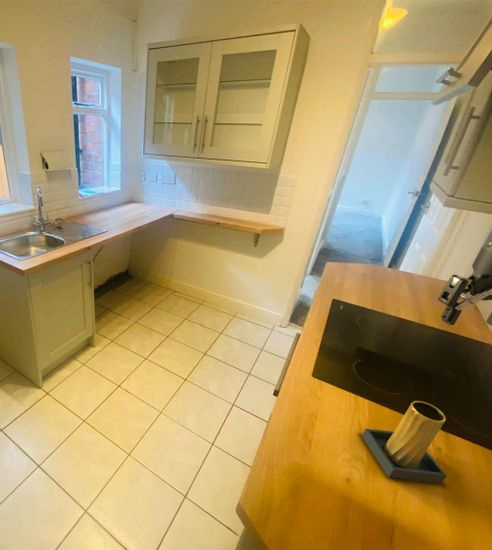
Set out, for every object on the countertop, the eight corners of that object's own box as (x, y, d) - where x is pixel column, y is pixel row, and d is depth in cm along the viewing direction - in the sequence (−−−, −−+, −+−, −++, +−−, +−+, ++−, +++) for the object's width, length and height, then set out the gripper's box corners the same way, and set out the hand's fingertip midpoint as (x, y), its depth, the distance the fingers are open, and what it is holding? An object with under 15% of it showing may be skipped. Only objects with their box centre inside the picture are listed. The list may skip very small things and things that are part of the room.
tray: (407, 440, 71) (412, 433, 70) (441, 483, 63) (447, 475, 61) (361, 435, 72) (365, 428, 71) (388, 477, 64) (393, 469, 62)
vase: (376, 442, 70) (401, 397, 64) (405, 445, 69) (433, 400, 63) (394, 468, 65) (423, 421, 59) (425, 472, 64) (458, 425, 58)
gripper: (490, 256, 52) (447, 333, 59) (582, 259, 51) (528, 337, 58) (452, 242, 59) (418, 312, 66) (533, 244, 58) (490, 316, 65)
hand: (469, 324), depth 62 cm, fingers open, 8 cm apart
